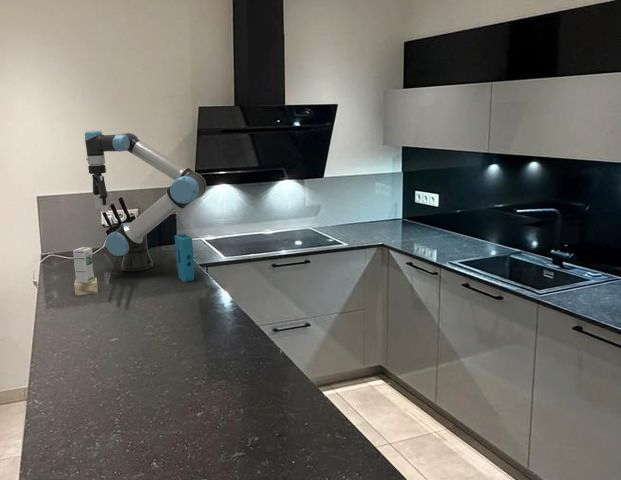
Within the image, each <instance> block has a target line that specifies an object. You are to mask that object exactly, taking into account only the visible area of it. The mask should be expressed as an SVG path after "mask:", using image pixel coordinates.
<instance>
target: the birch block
mask: <svg viewBox="0 0 621 480" xmlns="http://www.w3.org/2000/svg"><path fill="white" fill-rule="evenodd" d="M73 286H74V294H75V295H74V296H75V297H76V296H86V295H93V294H98V292H99V286H98V277H96V276H95V280H93V281H90V282H88V283H79V282H76V279H75V280H74V285H73Z"/></svg>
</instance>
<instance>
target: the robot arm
mask: <svg viewBox="0 0 621 480" xmlns="http://www.w3.org/2000/svg"><path fill="white" fill-rule="evenodd" d="M84 142H85V143H84V144H85V148H86V150H85V151H86V158H85V160H86V161H87V165H88V166H87V167H88V174H89V175H91V176H92V193H93V198H94V205H95V206H94V207H95V209H96V210H97V209H101V213H108V212H109V207H108V206H109V205H108V191H107V187H106V182H105V176H104V175H102V174H106V173H107V168H106V158H105V153H106V152H120V153H121V152H126V151H127V152H128V153H130V154H132V155H133V156H135V157H137V158H138V159H139V160H141V161H143V162H145V163H146V164H147V165H149V166H151V167H153V168H154V169H156V170H157V171H159V172H161V173H162V174H164V175H165V176H167V177H168V178H170V179H172V180H173V182H172V183H171V184H170V185H169V186H168V187H167V188H165V189H166V190H165V194H164V195H163V196H162V197H160V198H159V199H158V200H157V201H155V202H154V203H153V204H152V205H150V206H149V207H148V208H146V209H145V211H143V212H142V213H141V214H140V215H138V216H137V217H136V218H134V219H133V220H132V221H131V222H123V223H121V224H120V226H119V227H118V228H117V229H116V230H114V231H112V232H110V233H109V234H108V235H107V236H106V238H105V247H106V249H107V251H108V252H109V253H110V254H111V255H113V256H116V257H122V256H123V257H122V261H121V263H120V264H121V270H122V271H123V272H141V271H146V270H150V269H151V268H153V267H154V262H153V260H152V257H151V256H150V253H149V249H148V236H147V234H149V233H150V232H151V231H152V230H153V229H155V228H156V227H157V226H159V224H161V223H162V222H163V221H164V220H166V219H167V218H168V217H170V215H172V214H173V213H175V211H177V210H178V209H181V210H184V209H185V208H186V207H187V206H189V205H190V204H191V203H193V202H194V200H196V199H199V198H201V197H202V196H203V195H204V194H205V193H206V190H207V183H206V179H205V178H204V177H203V175H201V174H200V173H198V172H196V171H194V170H193V169H191V168H190V167H184V166H182V165H180V164H179V163H178V162H176V161H174V160H172V159H171V158H168V156H166V155H165V154H163V153H161V152H159V151H158V150H156V149H155V148H153V147H152V146H150V145H148V144H146V143H145V142H143V141H142V140H140V139H139V138H138V136H137V134H134V133H129V132H127V133H119V134H103V132H102V131H101V130H87V131H86V132H85V133H84Z"/></svg>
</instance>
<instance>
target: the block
mask: <svg viewBox="0 0 621 480" xmlns="http://www.w3.org/2000/svg"><path fill="white" fill-rule="evenodd" d="M174 244H175V245H174V246H175V258H176V266H177V272H178V273H177V274H178V279H180V280H181V281H182V282H183V283H184V282H185V283H186V282H190V281H192V282H193V281H194V280H195V260H194V258H195V257H194V246H193V238H192V237H191V236H189V235H187V234H186V233H181V234H175V235H174Z"/></svg>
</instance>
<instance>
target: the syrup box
mask: <svg viewBox="0 0 621 480" xmlns="http://www.w3.org/2000/svg"><path fill="white" fill-rule="evenodd" d="M72 252H73V253H72V254H73V265H74V275H75V280H76V282H79V283H88V282H90V281H93V280H95V278H96V276H95V267H94V255H93V248H92V247H87V246H86V247H79V248H76V249H73V250H72Z"/></svg>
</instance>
